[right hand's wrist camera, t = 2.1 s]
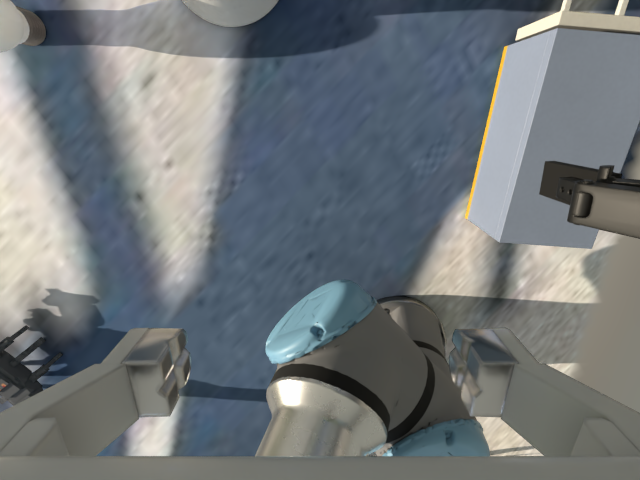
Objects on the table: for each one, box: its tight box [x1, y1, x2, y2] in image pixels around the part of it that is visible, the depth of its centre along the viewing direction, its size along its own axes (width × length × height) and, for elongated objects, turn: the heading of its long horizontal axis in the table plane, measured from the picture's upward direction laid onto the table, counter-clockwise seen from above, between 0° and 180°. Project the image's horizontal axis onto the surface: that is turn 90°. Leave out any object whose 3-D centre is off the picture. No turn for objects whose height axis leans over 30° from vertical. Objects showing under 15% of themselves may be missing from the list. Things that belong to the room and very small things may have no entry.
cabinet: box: [465, 28, 640, 249], centre depth 41 cm, size 22×11×10 cm, turn 176°
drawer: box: [516, 0, 640, 41], centre depth 39 cm, size 26×10×8 cm, turn 176°
